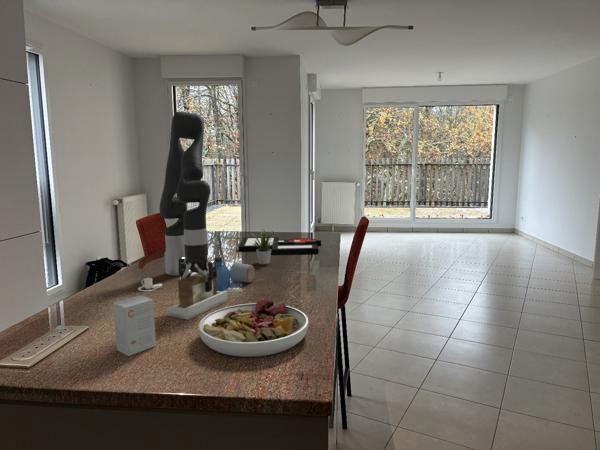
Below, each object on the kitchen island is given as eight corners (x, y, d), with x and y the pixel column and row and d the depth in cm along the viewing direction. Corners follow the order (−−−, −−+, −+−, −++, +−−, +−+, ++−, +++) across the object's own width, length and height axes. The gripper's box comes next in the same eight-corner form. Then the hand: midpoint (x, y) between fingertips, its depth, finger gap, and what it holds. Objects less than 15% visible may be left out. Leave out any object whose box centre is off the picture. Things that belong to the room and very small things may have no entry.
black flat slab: (236, 256, 227) (324, 254, 228) (236, 250, 227) (324, 248, 228) (243, 242, 263) (319, 241, 264) (243, 237, 262) (319, 236, 263)
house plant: (287, 263, 207) (286, 229, 205) (262, 268, 199) (261, 232, 197) (270, 258, 219) (269, 225, 216) (246, 262, 210) (245, 228, 208)
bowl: (299, 366, 106) (298, 335, 105) (181, 358, 111) (179, 328, 110) (314, 320, 136) (314, 295, 135) (220, 316, 140) (219, 292, 139)
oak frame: (189, 312, 141) (188, 281, 139) (179, 310, 143) (177, 280, 141) (217, 299, 153) (216, 271, 151) (207, 298, 155) (206, 270, 153)
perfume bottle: (230, 286, 172) (229, 256, 170) (222, 291, 166) (221, 260, 164) (216, 285, 174) (215, 255, 172) (208, 289, 168) (206, 259, 166)
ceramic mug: (248, 285, 173) (247, 266, 172) (229, 283, 176) (229, 264, 175) (259, 278, 183) (259, 260, 182) (241, 277, 186) (241, 259, 185)
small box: (143, 340, 122) (140, 294, 120) (156, 346, 118) (153, 299, 116) (115, 350, 116) (111, 302, 114) (128, 356, 112) (124, 307, 110)
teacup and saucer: (165, 288, 172) (164, 277, 172) (149, 293, 165) (148, 283, 165) (149, 285, 177) (148, 275, 176) (133, 290, 170) (132, 280, 169)
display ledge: (168, 315, 141) (167, 304, 140) (208, 297, 158) (208, 288, 158) (188, 319, 137) (187, 308, 137) (227, 300, 155) (227, 291, 154)
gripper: (220, 241, 144) (222, 289, 147) (187, 238, 151) (189, 284, 153) (205, 246, 138) (207, 296, 140) (171, 242, 144) (173, 290, 147)
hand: (198, 290), depth 147 cm, fingers open, 8 cm apart
